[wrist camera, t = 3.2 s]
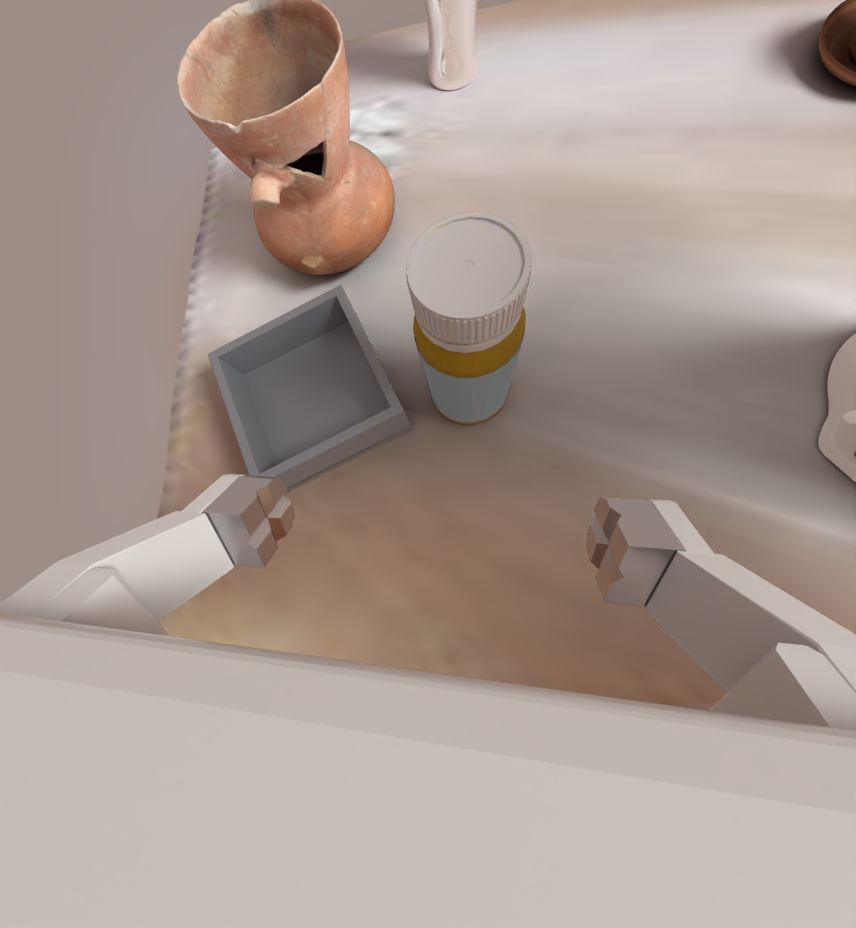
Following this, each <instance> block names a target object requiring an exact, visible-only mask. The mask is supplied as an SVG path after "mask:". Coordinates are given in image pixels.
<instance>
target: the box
mask: <svg viewBox="0 0 856 928" xmlns="http://www.w3.org/2000/svg"><path fill="white" fill-rule="evenodd" d="M208 356H209V359H210V362H211V365H212V368H213V371H214V374H215V377H216V380H217V383H218V385H219V388H220V391H221V394H222V397H223V400H224V403H225V406H226V409H227V412H228V415H229V417H230V420H231V423H232V426H233V429H234V432H235V435H236V438H237V441H238V444H239V446H240V449H241V452H242V455H243V458H244V461H245V464H246V467H247V470H248V473H249V475H255V476H267V477H278V478H280V479H282V480H284V483H285V485H286V488H287V491H286V493H287V492H289V491H291V490H293V489H295V488H297V487H298V486H300V485H302V484H304V483H306V482H308V481H310V480H312V479H314V478H316V477H318V476H320V475H322V474H324V473H326V472H328V471H330V470H332V469H334V468H336V467H338V466H340V465H342V464H344V463H346V462H348V461H350V460H352V459H354V458H356V457H358V456H360V455H362V454H364V453H366V452H368V451H370V450H372V449H374V448H376V447H378V446H379V445H381V444H383V443H385V442H387V441H389V440H391V439H393V438H395V437H397V436H399V435H401V434H403V433H405V432H407V431H409V430H411V429H413V427H412V425H411V423H410V421H409V419H408V417H407V415H406V413H405V411H404V409H403V407H402V405H401V403H400V401H399V399H398V397H397V395H396V393H395V391H394V389H393V387H392V385H391V383H390V381H389V379H388V377H387V375H386V373H385V371H384V369H383V367H382V365H381V363H380V361H379V359H378V357H377V354H376V352H375V350H374V348H373V346H372V344H371V342H370V340H369V338H368V336H367V334H366V332H365V330H364V328H363V326H362V324H361V322H360V320H359V318H358V316H357V314H356V313H355V311H354V309H353V307H352V305H351V303H350V301H349V299H348V297H347V295H346V294H345V292H344V290H343V288H342V286H341V285H340V286H338V287H336V288H334V289H332V290H330V291H328V292H326V293H324V294H322V295H320V296H318V297H316V298H315V299H313V300H311V301H309V302H307V303H305V304H303V305H301V306H299V307H297V308H295V309H293V310H291V311H290V312H288V313H286V314H284V315H282V316H280V317H278V318H276V319H274V320H272V321H270V322H268V323H267V324H265V325H263V326H261V327H259V328H257V329H255V330H253V331H251V332H249V333H247V334H245V335H243V336H242V337H240V338H238V339H236V340H234V341H232V342H230V343H228V344H226V345H224V346H222V347H220V348H218V349H217V350H215V351H213V352H211V353H209V354H208Z"/></svg>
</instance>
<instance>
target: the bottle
mask: <svg viewBox="0 0 856 928" xmlns="http://www.w3.org/2000/svg"><path fill="white" fill-rule="evenodd" d="M531 266H532V263H531V253H530V249H529V245H528V243H527V241H526V239H525V237H524V236H523V234H522V233H521V232H520V230H519V229H518V228H517V227H516V226H514V225H513V224H512V223H510V222H509V221H507V220H506V219H504V218H501V217H499V216H496V215H493V214H489V213H483V212H467V213H460V214H456V215H452V216H449V217H447V218H444V219H442V220H440V221H438V222H437V223H435V224H434V225H432V226H431V227H429V228H428V229H427V230H426V231H425V232H424V233H423V234H422V235H421V236H420V237H419V238H418V240H417V241H416V242H415V244H414V246H413V248H412V250H411V252H410V255H409V258H408V263H407V274H406V276H407V283H408V287H409V291H410V295H411V299H412V303H413V307H414V311H415V317H414V327H413V330H414V335H415V341H416V345H417V348H418V352H419V355H420V359H421V362H422V366H423V369H424V373H425V376H426V379H427V383H428V386H429V390H430V393H431V397H432V400H433V402H434V405H435V406H436V408H437V409H438V411H439V412H440V413H441V414H442V415H443V416H445V417H446V418H447V419H449V420H451V421H453V422H456V423H459V424H471V425H472V424H477V423H481V422H484V421H486V420H488V419H490V418H491V417H493V416H494V415H496V414H497V413H498V411H499V410H500V409H501V408H502V406H503V405H504V403H505V400H506V398H507V395H508V392H509V388H510V384H511V381H512V377H513V373H514V370H515V366H516V362H517V358H518V355H519V351H520V347H521V343H522V340H523V336H524V330H525V311H524V308H523V303H524V300H525V296H526V292H527V287H528V283H529V279H530V274H531Z"/></svg>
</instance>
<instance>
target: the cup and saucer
mask: <svg viewBox="0 0 856 928" xmlns="http://www.w3.org/2000/svg"><path fill="white" fill-rule="evenodd" d="M819 53H820V57H821V60H822V61H823V63H824V65H825V66H826V68H827V69H828V70H829V71H830V72H831V73H832V74H833V75H834V76H836V77H837V78H838V79H840V80H842V81H844V82H846V83H848V84H850V85H853V86H856V0H846V1H844V2H843V3H841V4H840V5H839V6H838V7H836V8H835V9H834V10H833V11H832V12H831V14H830V15H829V16H828V18H827V20H826V21H825V23H824V25H823V27H822V29H821V32H820V35H819Z"/></svg>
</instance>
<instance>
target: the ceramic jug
mask: <svg viewBox="0 0 856 928" xmlns="http://www.w3.org/2000/svg"><path fill="white" fill-rule="evenodd" d="M177 76H178V77H177V83H178V84H177V86H178V90H179V91H178V93H179V96H180V98H181V101H182V103H183V105H184V107H185V108H186V110H187V111H188V113H189V115H190V116H191V117H192V119H193V120H194V121H195V123H196V124H197V125H198V126H199V127H200V129H201V130H202V131H203V132H204V134H205V135H206V136H207V137H208V138H209V139H210V140H211V141H212V142H213V143H214V144H215V145H216V147H217V148H219V149H220V151H221V152H222V153H223V154H224V155H225V156H226V157H227V158H228V159H230V160H231V161H232V162H233V163H234V164H235V165H236V166H237V167H238V168H239V169H241V170H242V171H243V172H244V173H245V174H246V175H248V176H249V177H250V178H251V179H252V181H251V184H250V201H251V204H252V205H253V206H254V216H255V223H256V227H257V230H258V233H259V235H260V238H261V240H262V242H263V244H264V245H265V247H266V248H267V249H268V251H269V252H270V253H271V254H272V255H273V256H274V257H275V258H276V259H278V260H279V261H280V262H282V263H283V264H284V265H286V266H288V267H290V268H292V269H294V270H296V271H299V272H303V273H307V274H312V275H328V274H334V273H338V272H342V271H345V270H347V269H350V268H352V267H354V266H355V265H357V264H359V263H360V262H362V261H363V260H365V259H366V258H367V257H368V256H369V255H371V254H372V253H373V252H374V251H375V250H376V249H377V247H378V246H379V245H380V244H381V242H382V241H383V239H384V238H385V236H386V234H387V232H388V230H389V228H390V225H391V222H392V219H393V213H394V203H395V198H394V189H393V184H392V181H391V178H390V175H389V173H388V171H387V170H386V168H385V166H384V165H383V163H382V162H381V161H380V160H379V159H378V157H377V156H376V155H375V154H373V153H372V152H371V151H370V150H368V149H367V148H365V147H364V146H362V145H360V144H358V143H355V142H353V141H349V137H350V119H349V84H348V72H347V63H346V55H345V48H344V42H343V36H342V32H341V29H340V26H339V24H338V21H337V19H336V17H334V15H333V14H332V12H331V11H330V10H329V9H328V8H327V7H325V5H323V4H322V3H321V2H320V1H317V0H249V1H246V2H243V3H240V4H236V5H233V6H231V7H230V8H228V9H227V10H226V11H225V12H222V13H221V15H220V16H219V17H217V18H215V19H213V20H212V21H211V22H210V23H209V24H208V25H206V26H205V28H204V30H202V31H201V32H200V34H199V35H198V37H197V38H196V39H194V40H193V41H192V42H191V44H190V45H189V47H188V48H187V51H186V53H185V56H183V59H182V60H181V63H180V67H179V73H178V75H177Z"/></svg>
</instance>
